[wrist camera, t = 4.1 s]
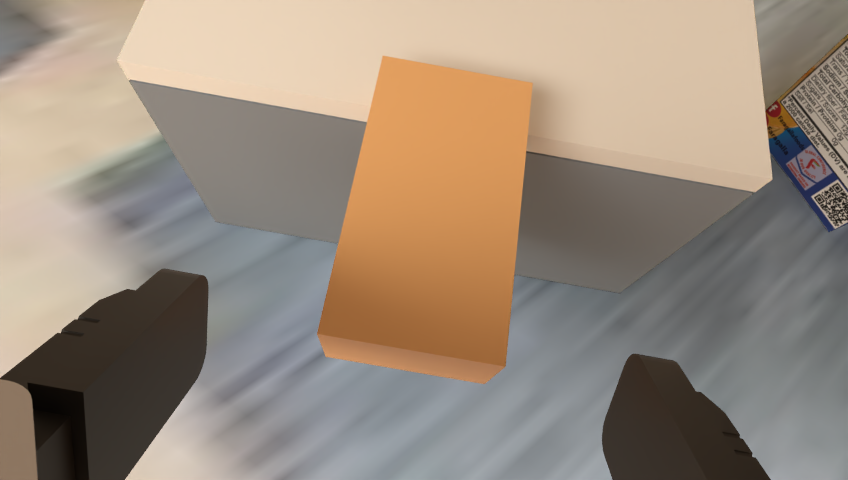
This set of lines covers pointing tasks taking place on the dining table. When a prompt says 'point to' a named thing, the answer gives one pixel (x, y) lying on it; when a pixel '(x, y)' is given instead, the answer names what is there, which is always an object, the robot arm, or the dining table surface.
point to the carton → (336, 164)
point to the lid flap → (469, 132)
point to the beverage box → (816, 136)
